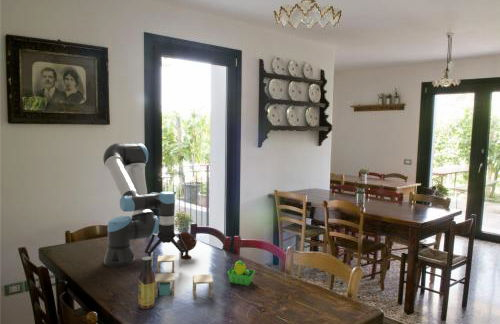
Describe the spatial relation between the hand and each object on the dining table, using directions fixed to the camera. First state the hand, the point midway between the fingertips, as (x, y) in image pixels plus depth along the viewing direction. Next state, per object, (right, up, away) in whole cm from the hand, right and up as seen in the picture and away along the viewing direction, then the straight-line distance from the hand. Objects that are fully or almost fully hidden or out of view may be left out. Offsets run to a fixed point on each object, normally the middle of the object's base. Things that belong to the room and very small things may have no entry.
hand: (165, 266), depth 188 cm
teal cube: (+5, -5, -24) cm, 25 cm away
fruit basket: (+37, -5, -10) cm, 39 cm away
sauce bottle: (0, -6, -37) cm, 37 cm away
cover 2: (+5, -5, -24) cm, 25 cm away
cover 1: (0, -3, 0) cm, 3 cm away
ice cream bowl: (+7, -2, +21) cm, 23 cm away
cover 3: (+21, -6, -24) cm, 32 cm away
